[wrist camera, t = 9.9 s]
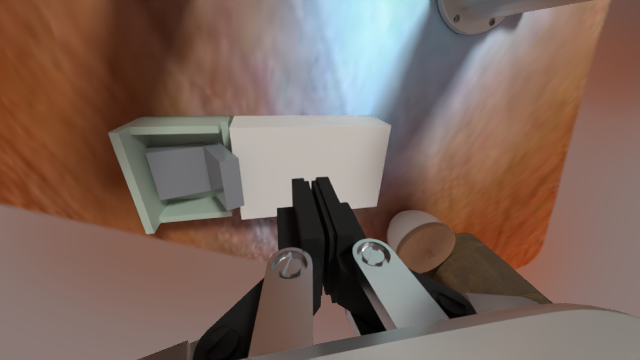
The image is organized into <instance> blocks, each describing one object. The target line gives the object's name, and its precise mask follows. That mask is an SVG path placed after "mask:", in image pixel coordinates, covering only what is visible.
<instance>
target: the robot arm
mask: <svg viewBox="0 0 640 360" xmlns="http://www.w3.org/2000/svg"><path fill="white" fill-rule="evenodd" d="M586 1H591V0H437V3H438V8H439V11H440V14H441V16H442V18H443V20H444V21H445V23H446V24H447V25H448V26H449V27H450V28H451V29H452V30H453V31H455V32H457V33H459V34H463V35H474V34H480V33H484V32H486V31H488V30H491V29H492V28H494V27H495V26H497V25H498V24H499V23H500V22H501V21H503V20H504V19H505V18H506V17H507V16H508V15H512V14H518V13H523V12H529V11H535V10H540V9H546V8H552V7H557V6H563V5H569V4H574V3H580V2H586ZM277 225H278V250H279V251H277V252H276V253H274V254H273V255H272V256H271V257H270V259H269V261H268V263H267V267H266V272H265V277H264V278H263V279H262V280H261V281H260V282H259V283H258V284H257V285H256V286H255V287H253V288H252V289H251V290H250V291H249V292H248V293H247V294H246V295H245V296H244V297H243V298H242V299H241V300H240V301H238V302H237V303H236V304H235V305H234V306H233V307H232V308H231V309H230V310H229V311H228V312H227V313H226V314H224V316H223V317H221V318H220V319H219V320H218V321H217V322H216V323H215V324H214V325H213V326H212V327H210V328H209V329H208V330H207V332H206V333H205V334H204V335H203V336H202V337H201V338H200V340H197V341H195V342H192V343H190V344H189V342H188V341H185V342H182V343H179V344H177V345H175V346H172V347H169V348H167V349H164V350H161V351H159V352H157V353H154V354H151V355H149V356H146V357H144V358H141V359H138V360H640V318H639V317H637V316H633V315H631V314H627V313H624V312H620V311H616V310H611V309H606V308H602V307H596V306H591V305H579V304H568V303H563V304H562V303H555V304H554V303H548V304H539V303H537V302H535V301H533V300H530V299H528V298H524V297H518V296H503V295H489V294H475V293H465V295H464V296H463V295H461V294H460V293H458V292H457V291H455V290H453V289H451V288H449V287H447V286H445V285H443V284H440V283H438V282H436V281H434V280H432V279H430V278H428V277H426V276H423V275H421V274H419V273H417V272H415V271H413V270H411V269H409V268H407V267H406V265H405V264H404V263H403V262H402V261H401V259H400V258H399V257H398V256H397V255H396V253H395V252H394V251H393V250H392V249H391V248H390V247H389V246H388V245H387V244H385V243H384V242H382V241H379V240H376V239H367V238H366V236H365V234H364V232H363V231H362V229H361V227H360V225H359V223H358V221H357V219H356V217H355V215H354V213H353V211H352V209H351V207H350V205H349V204H348V203H347V202H342V203H340V201H339V199H338V197H337V195H336V193H335V191H334V188H333V186H332V184H331V182H330V180H329V178H328V177H316V179H315V180H312V182H311V188H310V184H309V181H304V178H295V179H292V207H282V208H277ZM323 286H324V291H325V294H326V295H330V296H331V300H332V303H338V304H339V305H340V306H342V307H344V308H345V313H346V317H347V319H348V321H349V323H350V325H351V328H352V330H353V332H354V334H355V337H352V338H348V339H342V340H337V341H332V342H327V343H321V344H316V345H313V316H314V315H315V313H316V312H317V310H318V309H319V308H320V305H321V295H322V287H323Z"/></svg>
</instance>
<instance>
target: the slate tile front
mask: <svg viewBox="0 0 640 360" xmlns="http://www.w3.org/2000/svg"><path fill="white" fill-rule="evenodd" d="M203 149H204V154H205V159H206V164H207V169H208V175H209V180H210V185H211V190H212V191H213V192H214V194H215V195H216V196H217V198H218V199H219V200H220V202H221V203H222V204H223V206H224V207H225V208H226V210H227V211H229V210H232V209H235V208H238V207H241V206H244V198H243V190H242V182H241V174H240V166H239V158H238V157H237V156H235V155H234V154H233V153H232V152H230V151H229V150H228V149H227V148H226V147H224V146H223V145H222V144H221V143H216V144H210V145H204V146H203Z"/></svg>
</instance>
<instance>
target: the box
mask: <svg viewBox="0 0 640 360" xmlns="http://www.w3.org/2000/svg"><path fill="white" fill-rule="evenodd" d="M230 125H231V117H230V116H141V117H139V118H137V119H135V120H133V121H131V122H129V123H127V124H125V125H123V126H121V127H118V128H116V129H114V130H112V131H110V132H108V135H109V138H110V140H111V143H112V145H113V148H114V151H115V153H116V156H117V158H118V161H119V164H120V166H121V169H122V171H123V174H124V177H125V179H126V182H127V185H128V187H129V190H130V192H131V195H132V198H133V200H134V203H135V205H136V208H137V211H138V213H139V216H140V218H141V221H142V224H143V226H144V229H145V231H146V234H153V233H155V231H156V230H157V228H158V227H159V225H160V223H165V222H176V221H186V220H197V219H207V218H218V217H229V216H232V213H233V209H232V210H229V211H227V210H226V208H225V207H224V206H223V204H222V203H221V202H220V200H219V199H218V198H217V196H216V195H215V194H214V192H213V191H212V190H211V191H206V192H201V193H196V194H191V195H186V196H181V197H176V198H171V199H166V200H161V201H160V198H159V195H158V192H157V188H156V185H155V182H154V179H153V176H152V173H151V170H150V167H149V163H148V160H147V157H146V154H145V153H146V148H150V147H159V146H168V145H178V144H187V143H196V142H204V143H205V145H210V144H216V143H221V144H222V145H223V146H224V147H226V148H227V149H228V150H229V151H230V152H232V146H231V139H230V131H229V127H230Z"/></svg>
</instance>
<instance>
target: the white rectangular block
mask: <svg viewBox="0 0 640 360" xmlns="http://www.w3.org/2000/svg"><path fill="white" fill-rule="evenodd" d="M390 130H391V125H389V124H387V123H386V122H384V121H382V120H380V119H378V118H376V117H374V116H372V115H332V116H234V118H233V120H232V123H231V125H230V127H229V131H230V139H231V146H232V153H233V154H234V155H235V156H237V157H238V158H239V166H240V174H241V182H242V190H243V198H244V206H241V207H240V211H241V218H242V220H244V219H254V218H265V217H275V216H277V208H282V207H292V179H295V178H304V181H309V184H310V188H311V182H312V180H315V179H316V177H328V178H329V180H330V182H331V184H332V186H333V188H334V191H335V193H336V195H337V197H338V199H339V201H340V203H342V202H347V203H348V204H349V205H350V207H351V209H357V208H367V207H377V202H378V196H379V191H380V185H381V180H382V174H383V169H384V163H385V158H386V152H387V147H388V141H389V136H390Z"/></svg>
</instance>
